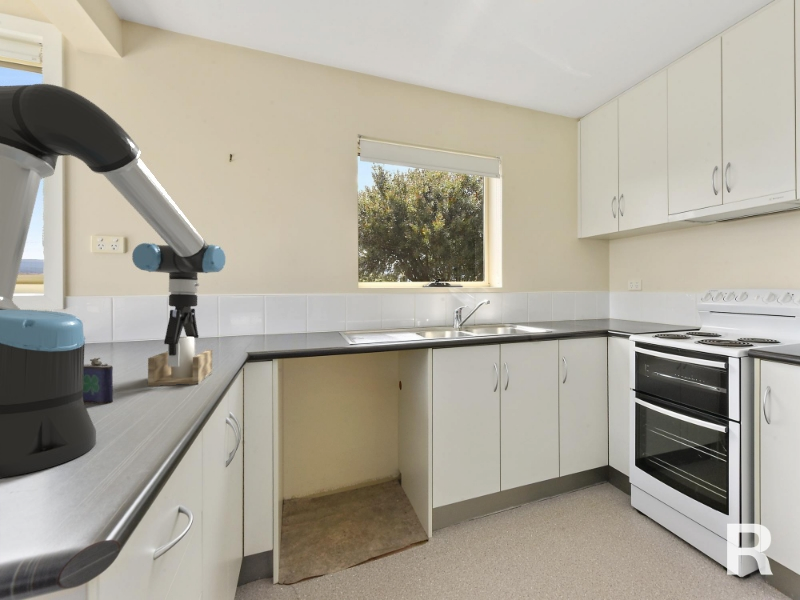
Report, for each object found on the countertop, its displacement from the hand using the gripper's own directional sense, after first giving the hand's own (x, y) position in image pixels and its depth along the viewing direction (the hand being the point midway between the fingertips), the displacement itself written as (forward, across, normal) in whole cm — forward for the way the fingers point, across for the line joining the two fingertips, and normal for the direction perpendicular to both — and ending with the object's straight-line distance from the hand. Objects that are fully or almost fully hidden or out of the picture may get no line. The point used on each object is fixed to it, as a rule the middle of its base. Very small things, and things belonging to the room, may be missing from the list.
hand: (182, 362), depth 107 cm
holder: (+5, 0, 0) cm, 5 cm away
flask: (+6, -21, +12) cm, 25 cm away
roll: (+4, 0, 0) cm, 4 cm away
